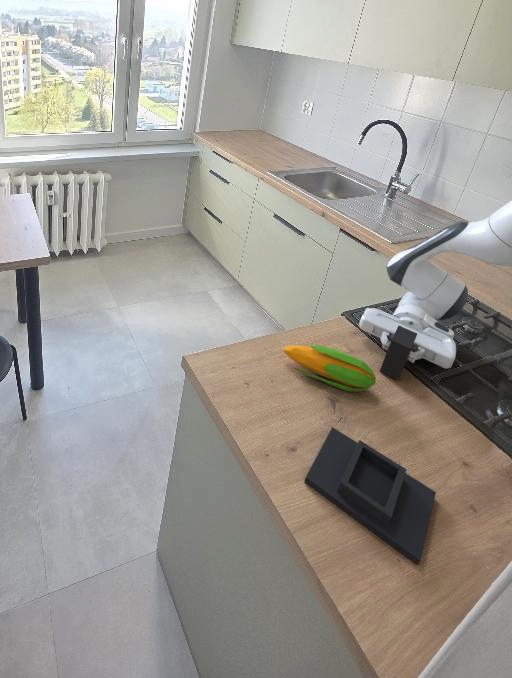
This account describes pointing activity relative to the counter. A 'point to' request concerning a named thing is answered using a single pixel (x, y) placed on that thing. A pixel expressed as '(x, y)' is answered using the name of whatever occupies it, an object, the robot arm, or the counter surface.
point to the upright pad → (398, 352)
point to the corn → (333, 366)
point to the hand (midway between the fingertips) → (398, 353)
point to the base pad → (373, 492)
